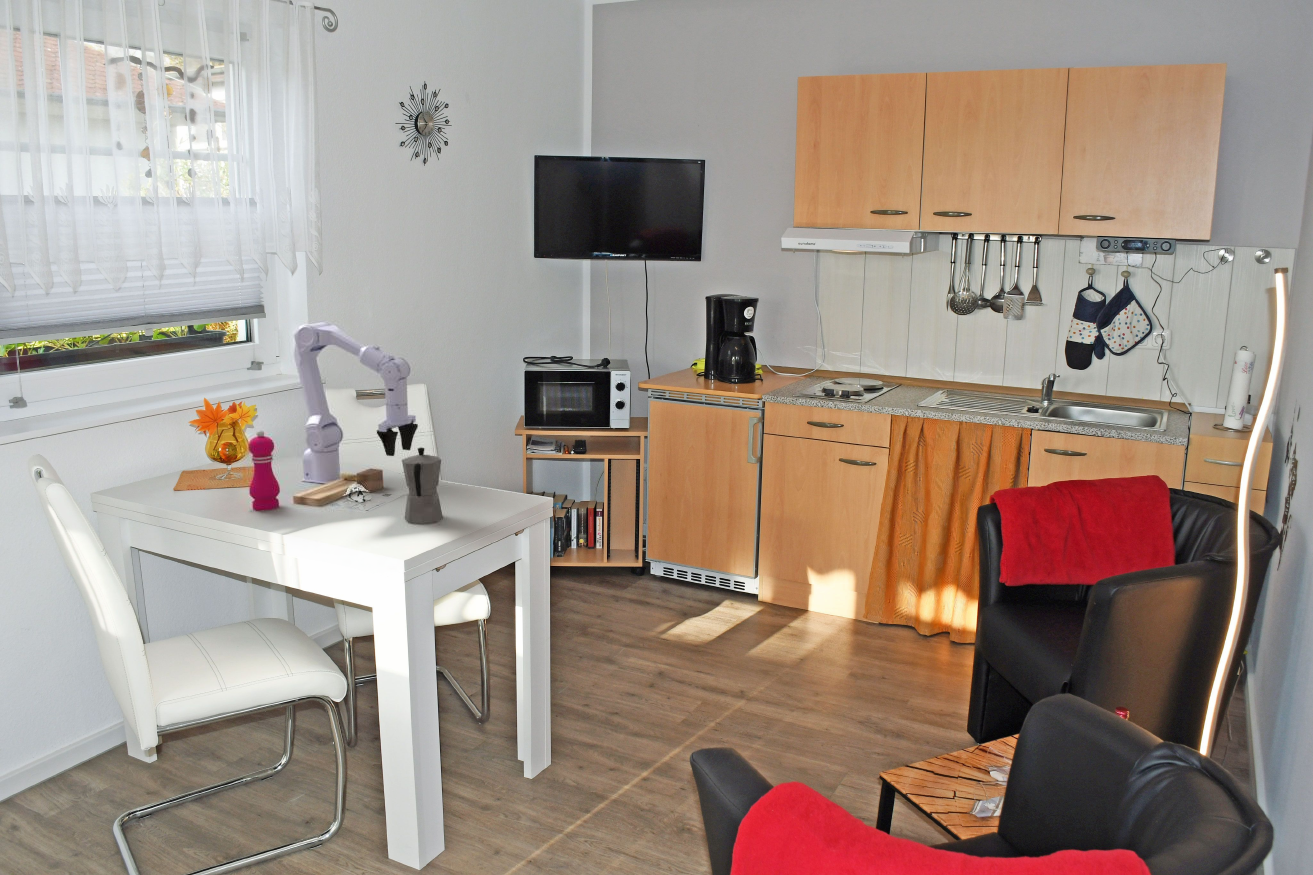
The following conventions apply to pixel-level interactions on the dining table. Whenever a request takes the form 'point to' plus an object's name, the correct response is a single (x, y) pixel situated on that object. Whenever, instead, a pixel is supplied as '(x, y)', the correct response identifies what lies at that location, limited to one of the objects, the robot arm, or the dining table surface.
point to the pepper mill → (263, 474)
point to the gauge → (367, 479)
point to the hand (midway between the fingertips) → (398, 452)
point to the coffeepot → (422, 488)
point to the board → (324, 493)
